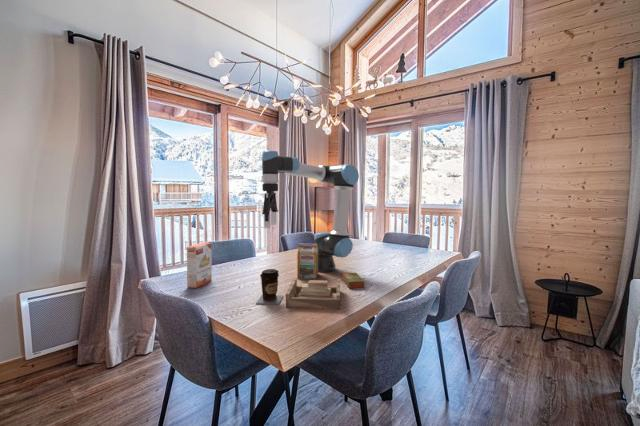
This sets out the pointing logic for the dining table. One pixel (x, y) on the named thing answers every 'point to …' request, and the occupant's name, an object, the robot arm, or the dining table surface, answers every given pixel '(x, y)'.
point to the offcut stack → (316, 288)
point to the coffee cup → (269, 284)
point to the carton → (352, 280)
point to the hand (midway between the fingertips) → (270, 226)
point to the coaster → (274, 302)
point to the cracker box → (199, 265)
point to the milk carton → (307, 261)
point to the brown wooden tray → (311, 302)
